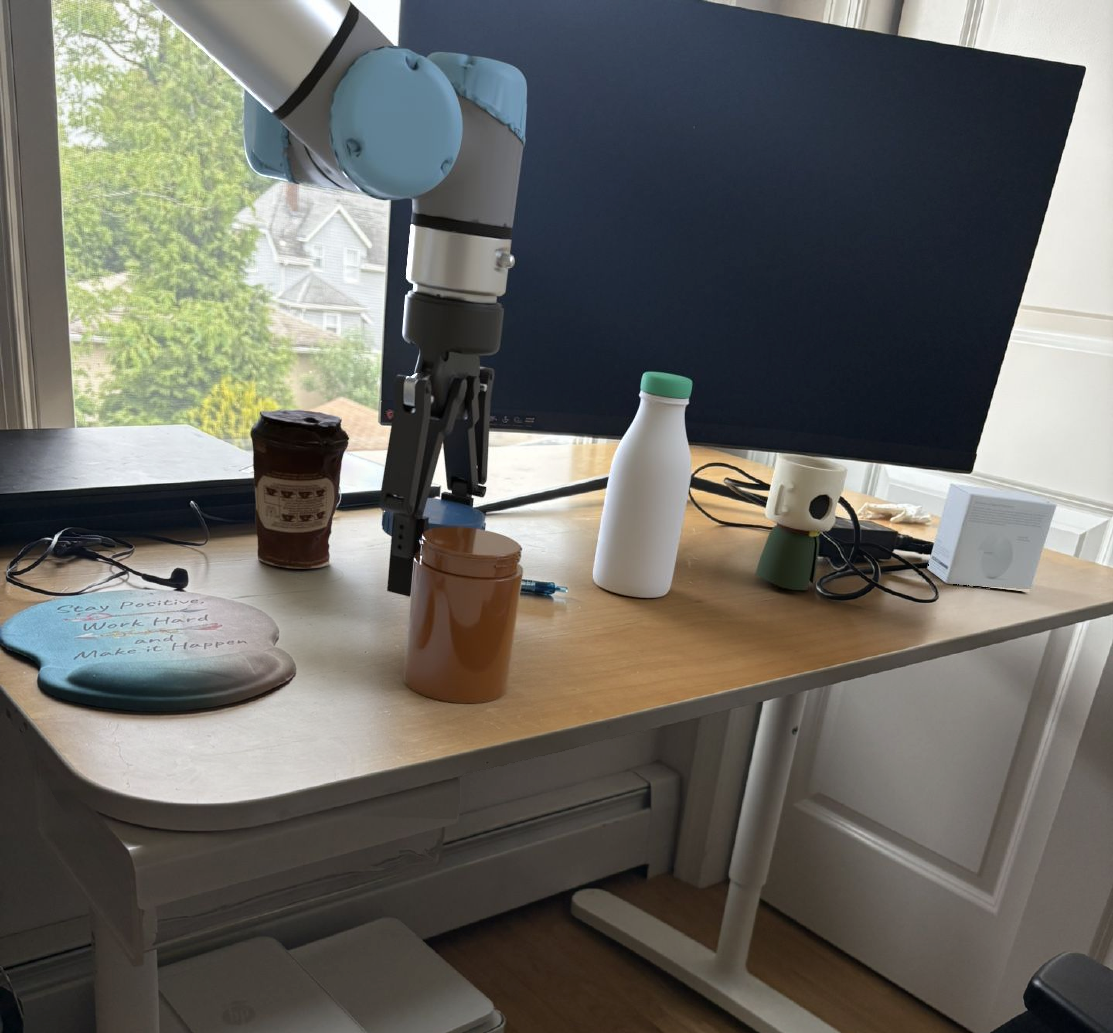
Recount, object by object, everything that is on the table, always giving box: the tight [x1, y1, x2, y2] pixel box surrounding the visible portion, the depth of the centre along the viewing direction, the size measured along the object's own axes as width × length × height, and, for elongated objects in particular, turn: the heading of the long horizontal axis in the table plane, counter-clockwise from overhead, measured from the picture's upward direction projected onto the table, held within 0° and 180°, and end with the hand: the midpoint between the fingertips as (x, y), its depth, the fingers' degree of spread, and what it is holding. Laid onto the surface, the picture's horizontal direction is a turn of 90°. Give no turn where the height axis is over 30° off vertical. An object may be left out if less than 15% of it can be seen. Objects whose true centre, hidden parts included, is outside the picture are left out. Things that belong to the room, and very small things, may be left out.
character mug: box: [754, 453, 848, 591], centre depth 117 cm, size 11×7×13 cm, turn 138°
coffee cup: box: [249, 409, 350, 570], centre depth 100 cm, size 9×8×13 cm
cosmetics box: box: [927, 483, 1057, 590], centre depth 131 cm, size 10×6×10 cm, turn 94°
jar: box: [402, 527, 524, 704], centre depth 80 cm, size 8×8×11 cm
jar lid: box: [381, 497, 487, 537], centre depth 93 cm, size 8×8×2 cm
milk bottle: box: [592, 371, 693, 599], centre depth 107 cm, size 8×8×20 cm
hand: (428, 580), depth 95 cm, fingers closed on jar lid, 8 cm apart
